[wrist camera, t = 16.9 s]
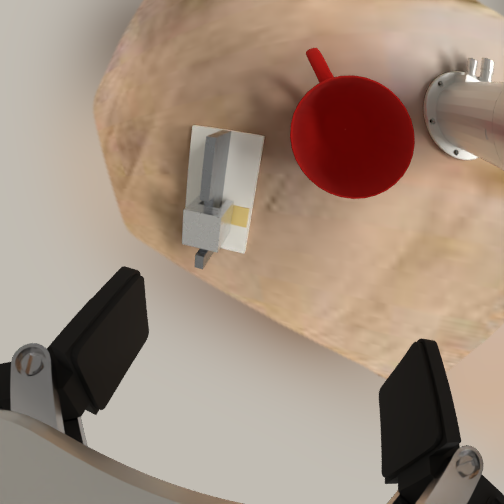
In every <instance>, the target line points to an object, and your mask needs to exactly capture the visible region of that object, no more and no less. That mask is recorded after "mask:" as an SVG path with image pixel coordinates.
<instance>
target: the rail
mask: <svg viewBox="0 0 504 504" xmlns="http://www.w3.org/2000/svg"><path fill="white" fill-rule="evenodd" d="M230 137H231V131H227V130H221V131H218V132H216V133H213V134H211V135H208V136H206V142H205V151H204V160H203V169H202V179H201V190H200V200H202V201H204V205H205V206H210V207H215V208H219V209H220V208H221V206H222V198H223V190H224V182H225V174H226V167H227V159H228V152H229V145H230ZM212 254H213V251H209V250H205V249H201V248H200V249H199V251H198V252H197V253H196V255H195V267H196V268H200V269H203V268H204V266H205V265H206V263H207V262H208V260H209V259H210V257H211V255H212Z"/></svg>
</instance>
